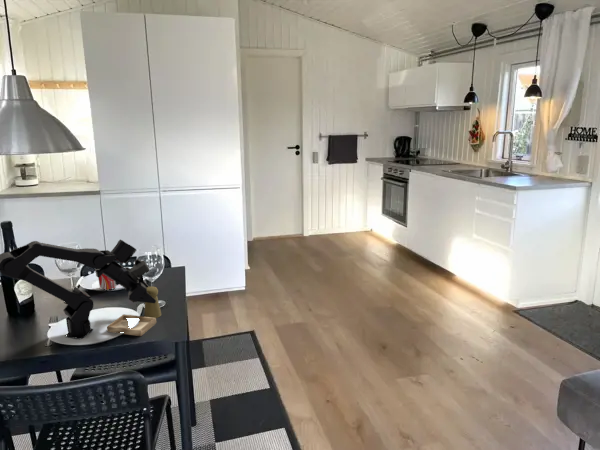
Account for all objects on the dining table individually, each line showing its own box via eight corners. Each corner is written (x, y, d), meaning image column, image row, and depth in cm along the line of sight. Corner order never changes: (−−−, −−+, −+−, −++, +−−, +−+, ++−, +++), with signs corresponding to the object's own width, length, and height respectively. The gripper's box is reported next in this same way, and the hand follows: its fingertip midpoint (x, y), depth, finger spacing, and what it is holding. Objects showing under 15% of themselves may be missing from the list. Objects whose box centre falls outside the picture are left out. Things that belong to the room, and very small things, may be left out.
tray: (107, 331, 154) (106, 326, 154) (124, 319, 163) (123, 314, 163) (141, 336, 151) (140, 330, 151) (156, 323, 160) (156, 317, 160)
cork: (143, 313, 168) (141, 285, 165) (160, 310, 170) (158, 283, 167) (144, 320, 162) (141, 292, 159) (162, 317, 164) (159, 289, 162)
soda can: (100, 286, 193) (97, 259, 190) (118, 284, 195) (115, 257, 192) (98, 292, 187) (95, 265, 184) (117, 290, 189) (114, 263, 186)
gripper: (136, 264, 150) (172, 289, 157) (131, 248, 166) (165, 271, 174) (113, 290, 149) (151, 314, 156) (111, 271, 165) (145, 294, 173)
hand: (153, 297), depth 165 cm, fingers open, 9 cm apart
